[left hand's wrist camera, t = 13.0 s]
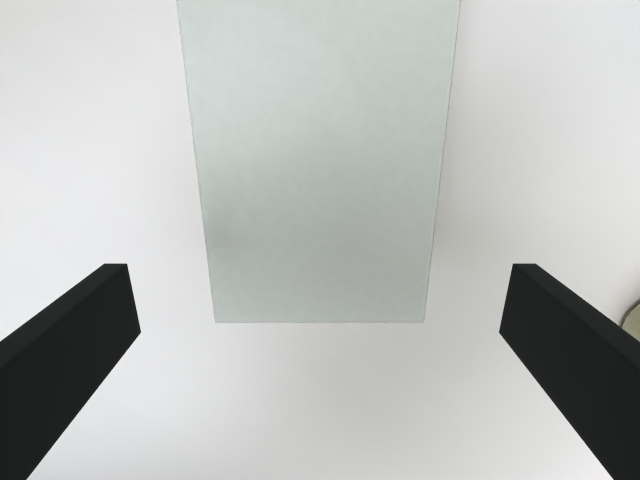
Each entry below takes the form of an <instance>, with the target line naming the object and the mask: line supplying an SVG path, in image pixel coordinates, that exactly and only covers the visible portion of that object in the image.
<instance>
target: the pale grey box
mask: <svg viewBox="0 0 640 480" xmlns="http://www.w3.org/2000/svg"><path fill="white" fill-rule="evenodd" d="M460 3H461V0H177V8H178V16H179V24H180V33H181V41H182V49H183V58H184V66H185V75H186V83H187V91H188V100H189V108H190V116H191V125H192V133H193V142H194V150H195V158H196V167H197V175H198V184H199V192H200V200H201V209H202V217H203V225H204V234H205V242H206V251H207V259H208V267H209V276H210V284H211V292H212V301H213V309H214V318H215V322H424V316H425V307H426V299H427V290H428V281H429V273H430V264H431V255H432V247H433V238H434V229H435V220H436V212H437V203H438V194H439V186H440V177H441V168H442V160H443V151H444V142H445V133H446V125H447V116H448V107H449V99H450V90H451V81H452V73H453V64H454V55H455V46H456V38H457V29H458V20H459V12H460Z"/></svg>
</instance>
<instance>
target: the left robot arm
mask: <svg viewBox="0 0 640 480" xmlns="http://www.w3.org/2000/svg"><path fill="white" fill-rule="evenodd" d="M140 333H141V330H140V325H139V320H138V315H137V310H136V306H135V301H134V296H133V291H132V286H131V281H130V276H129V271H128V266H127V264H103V265H102V266H101V267H99V268H98V269H97V270H95V271H94V272H93V273H91V274H90V275H89V276H87V277H86V278H85V279H83V280H82V281H81V282H79V283H78V284H77V285H75V286H74V287H73V288H71V289H70V290H69V291H67V292H66V293H65V294H63V295H62V296H61V297H59V298H58V299H57V300H55V301H54V302H53V303H51V304H50V305H49V306H47V307H46V308H45V309H43V310H42V311H41V312H39V313H38V314H37V315H35V316H34V317H33V318H31V319H30V320H29V321H27V322H26V323H25V324H23V325H22V326H21V327H19V328H18V329H17V330H15V331H14V332H13V333H11V334H10V335H9V336H7V337H6V338H5V339H3V340H2V341H1V342H0V480H26V479H27V478H28V477H29V476H30V474H31V473H32V472H33V470H34V469H35V468H36V467H37V465H38V464H39V463H40V461H41V460H42V459H43V458H44V456H45V455H46V454H47V452H48V451H49V450H50V449H51V447H52V446H53V445H54V443H55V442H56V441H57V440H58V438H59V437H60V436H61V434H62V433H63V432H64V431H65V429H66V428H67V427H68V425H69V424H70V423H71V422H72V420H73V419H74V418H75V416H76V415H77V414H78V413H79V411H80V410H81V409H82V407H83V406H84V405H85V404H86V402H87V401H88V400H89V398H90V397H91V396H92V395H93V393H94V392H95V391H96V389H97V388H98V387H99V386H100V384H101V383H102V382H103V380H104V379H105V378H106V377H107V375H108V374H109V373H110V371H111V370H112V369H113V368H114V366H115V365H116V364H117V362H118V361H119V360H120V359H121V357H122V356H123V355H124V353H125V352H126V351H127V350H128V348H129V347H130V346H131V345H132V343H133V342H134V341H135V339H136V338H137V337H138V336H139V334H140ZM499 333H500V334H501V336H502V337H503V338H504V339H505V341H506V342H507V343H508V345H509V346H510V347H511V348H512V350H513V351H514V352H515V354H516V355H517V356H518V357H519V359H520V360H521V361H522V362H523V364H524V365H525V366H526V368H527V369H528V370H529V371H530V373H531V374H532V375H533V377H534V378H535V379H536V380H537V382H538V383H539V384H540V386H541V387H542V388H543V389H544V391H545V392H546V393H547V395H548V396H549V397H550V398H551V400H552V401H553V402H554V404H555V405H556V406H557V407H558V409H559V410H560V411H561V413H562V414H563V415H564V416H565V418H566V419H567V420H568V422H569V423H570V424H571V425H572V427H573V428H574V429H575V431H576V432H577V433H578V434H579V436H580V437H581V438H582V440H583V441H584V442H585V443H586V445H587V446H588V447H589V449H590V450H591V451H592V452H593V454H594V455H595V456H596V458H597V459H598V460H599V461H600V463H601V464H602V465H603V467H604V468H605V469H606V470H607V472H608V473H609V474H610V476H611V477H612V478H613V479H614V480H640V342H639V341H638V340H637V339H635V338H634V337H633V336H631V335H630V334H629V333H627V332H626V331H625V330H623V329H622V328H621V327H619V326H618V325H617V324H615V323H614V322H613V321H611V320H610V319H609V318H607V317H606V316H605V315H603V314H602V313H601V312H599V311H598V310H597V309H595V308H594V307H593V306H591V305H590V304H589V303H587V302H586V301H585V300H583V299H582V298H581V297H579V296H578V295H577V294H575V293H574V292H573V291H571V290H570V289H569V288H567V287H566V286H565V285H563V284H562V283H561V282H559V281H558V280H557V279H555V278H554V277H553V276H551V275H550V274H549V273H547V272H546V271H545V270H543V269H542V268H541V267H539V266H538V265H537V264H513V266H512V271H511V276H510V281H509V286H508V291H507V296H506V301H505V306H504V310H503V315H502V320H501V325H500V330H499Z"/></svg>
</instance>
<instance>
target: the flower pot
mask: <svg viewBox="0 0 640 480" xmlns="http://www.w3.org/2000/svg"><path fill="white" fill-rule="evenodd" d="M622 329H623V330H625V331H626V332H627V333H629V334H630V335H631V336H633V337H634V338H635V339H637V340H638V341H639V342H640V304H638V305H637V306H636V307H635V308H634V309H633V310H632V311H631V312H630V314H629V315H628V316H627V318H626V320H625V322H624V324H623V326H622Z"/></svg>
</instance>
